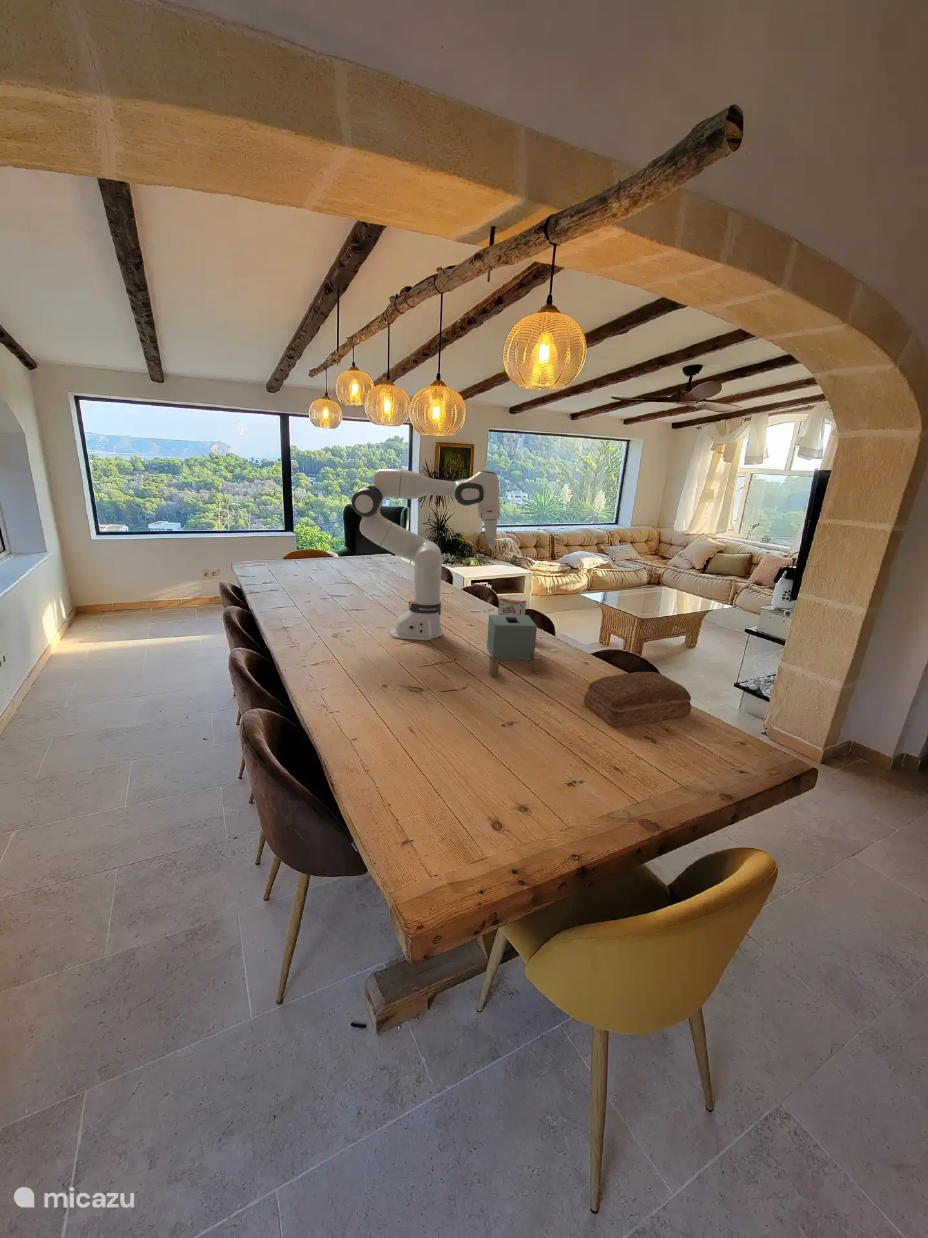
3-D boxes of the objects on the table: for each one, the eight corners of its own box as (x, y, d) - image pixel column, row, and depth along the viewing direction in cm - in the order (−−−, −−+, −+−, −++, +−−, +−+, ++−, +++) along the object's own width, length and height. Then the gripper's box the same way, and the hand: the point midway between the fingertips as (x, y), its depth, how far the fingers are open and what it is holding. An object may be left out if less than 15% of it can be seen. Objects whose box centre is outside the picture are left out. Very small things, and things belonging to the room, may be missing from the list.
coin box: (492, 660, 186) (495, 625, 182) (486, 647, 199) (489, 614, 195) (533, 660, 188) (537, 625, 184) (525, 647, 201) (528, 615, 197)
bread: (692, 717, 149) (699, 683, 146) (612, 731, 139) (618, 694, 136) (654, 694, 165) (659, 662, 161) (579, 704, 154) (583, 670, 151)
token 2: (533, 672, 176) (534, 658, 175) (529, 667, 182) (530, 653, 180) (539, 672, 177) (540, 658, 175) (535, 667, 182) (537, 653, 180)
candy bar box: (496, 633, 218) (498, 597, 213) (501, 630, 222) (503, 595, 217) (518, 638, 212) (521, 602, 208) (523, 635, 216) (526, 599, 212)
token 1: (491, 677, 171) (492, 662, 169) (488, 671, 176) (489, 656, 174) (497, 677, 171) (498, 662, 169) (495, 671, 176) (496, 656, 175)
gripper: (480, 509, 208) (482, 541, 212) (482, 516, 189) (483, 551, 193) (495, 508, 208) (496, 541, 212) (498, 515, 188) (499, 550, 193)
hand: (490, 546), depth 203 cm, fingers open, 8 cm apart
